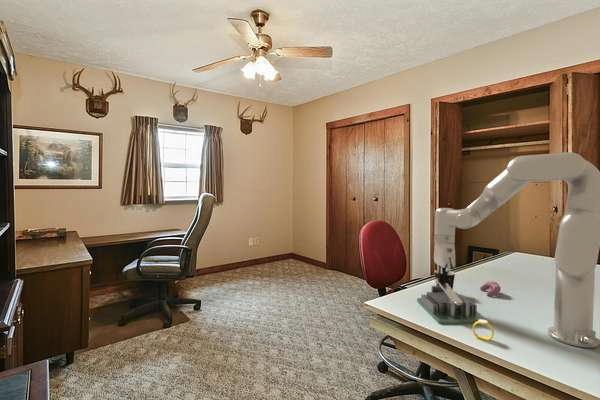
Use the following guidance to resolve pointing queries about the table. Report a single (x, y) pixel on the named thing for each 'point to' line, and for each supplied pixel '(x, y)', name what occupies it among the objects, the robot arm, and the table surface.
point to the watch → (483, 324)
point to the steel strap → (450, 293)
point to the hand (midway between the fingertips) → (442, 282)
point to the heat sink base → (449, 308)
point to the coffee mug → (450, 278)
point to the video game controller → (491, 288)
